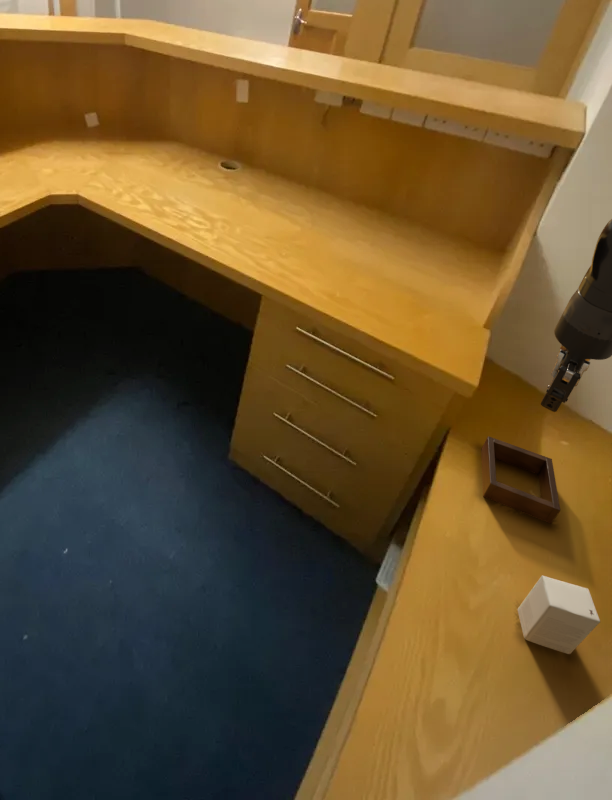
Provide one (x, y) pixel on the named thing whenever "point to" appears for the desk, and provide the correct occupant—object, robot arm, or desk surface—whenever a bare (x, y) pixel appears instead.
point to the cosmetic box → (557, 614)
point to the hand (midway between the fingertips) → (553, 392)
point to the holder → (513, 497)
